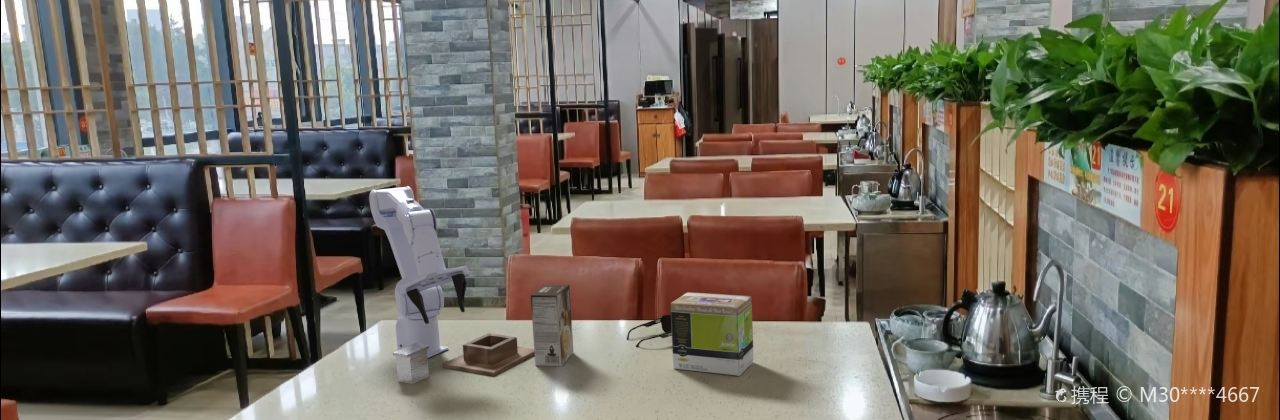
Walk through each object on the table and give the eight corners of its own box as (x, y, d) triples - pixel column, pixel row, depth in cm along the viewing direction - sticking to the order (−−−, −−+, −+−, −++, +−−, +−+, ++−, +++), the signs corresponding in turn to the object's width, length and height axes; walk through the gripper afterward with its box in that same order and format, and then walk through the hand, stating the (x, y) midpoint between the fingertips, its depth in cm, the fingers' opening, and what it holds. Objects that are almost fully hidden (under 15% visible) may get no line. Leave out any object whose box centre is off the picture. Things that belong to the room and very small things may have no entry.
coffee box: (547, 352, 197) (542, 283, 195) (574, 352, 196) (570, 284, 193) (534, 366, 189) (529, 294, 186) (562, 366, 187) (558, 294, 185)
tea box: (754, 361, 186) (753, 295, 183) (739, 377, 177) (738, 307, 174) (689, 354, 192) (687, 289, 190) (671, 369, 183) (669, 301, 181)
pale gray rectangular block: (395, 382, 182) (392, 352, 181) (417, 372, 188) (415, 343, 186) (409, 385, 180) (406, 355, 179) (431, 375, 186) (429, 345, 184)
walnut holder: (443, 367, 190) (441, 347, 189) (489, 345, 204) (488, 327, 203) (493, 376, 183) (491, 356, 183) (537, 353, 197) (536, 334, 196)
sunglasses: (688, 342, 201) (684, 321, 200) (641, 356, 197) (637, 336, 196) (669, 329, 211) (666, 310, 210) (624, 343, 206) (620, 324, 205)
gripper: (391, 262, 182) (406, 320, 176) (458, 241, 184) (475, 298, 179) (399, 275, 188) (413, 331, 183) (464, 255, 191) (480, 310, 185)
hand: (444, 316), depth 181 cm, fingers open, 7 cm apart
